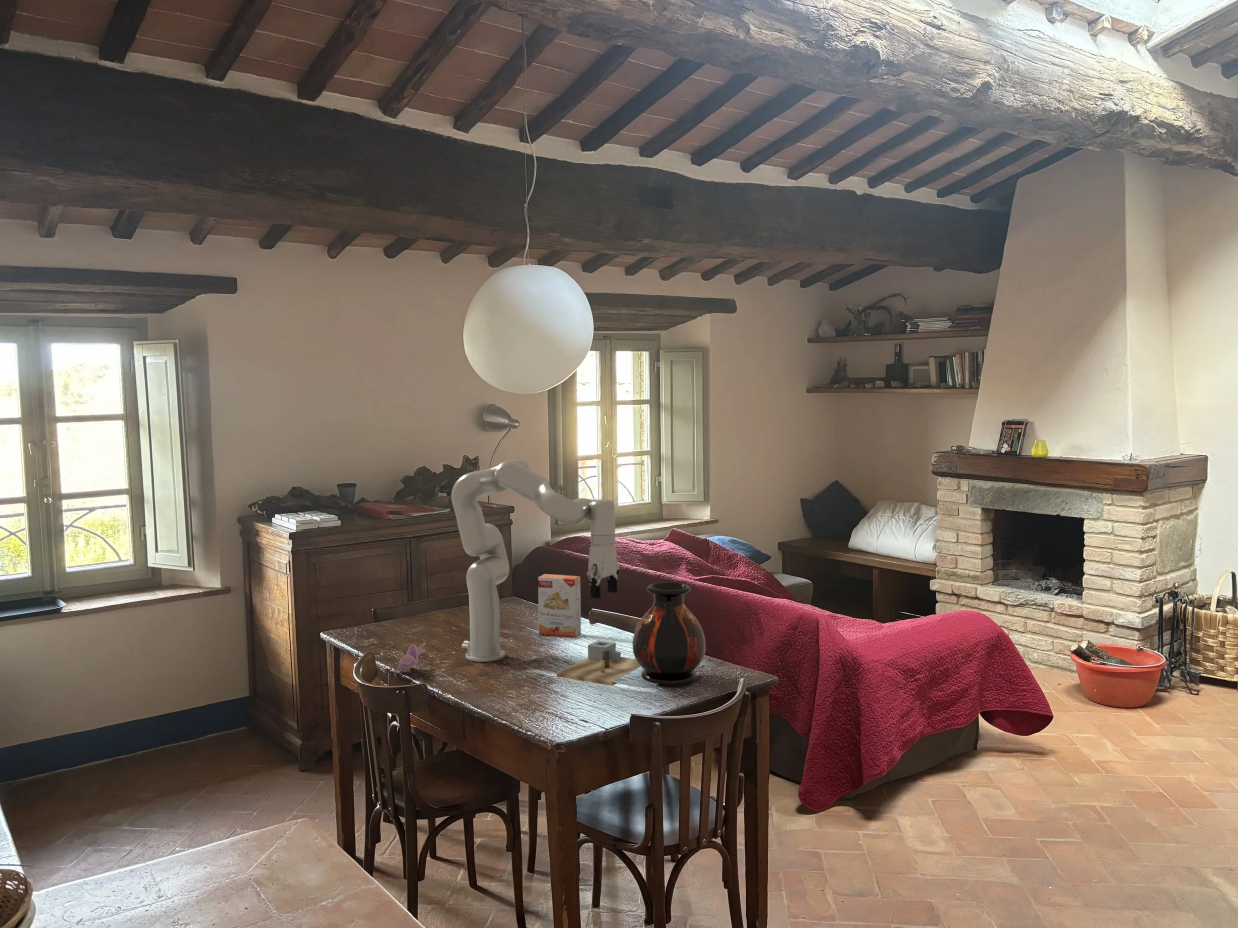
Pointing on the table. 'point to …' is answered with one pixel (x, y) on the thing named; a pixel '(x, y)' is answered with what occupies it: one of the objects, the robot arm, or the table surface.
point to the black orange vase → (669, 638)
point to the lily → (411, 656)
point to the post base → (599, 670)
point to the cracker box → (559, 605)
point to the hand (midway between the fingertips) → (604, 594)
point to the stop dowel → (602, 666)
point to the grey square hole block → (598, 646)
